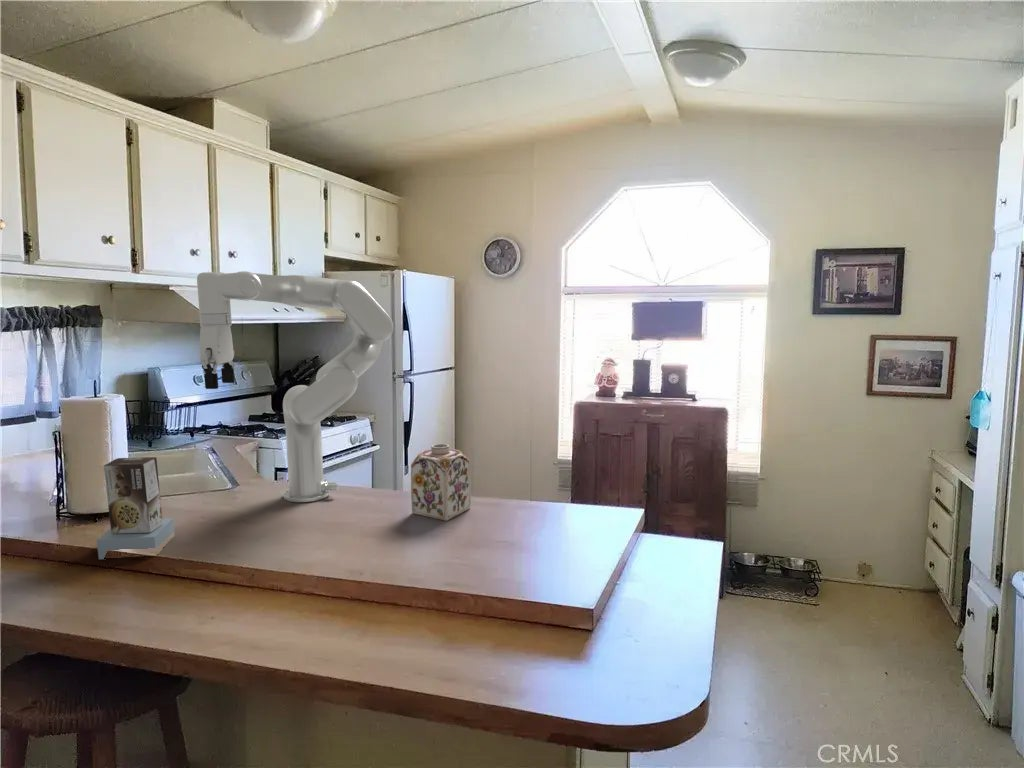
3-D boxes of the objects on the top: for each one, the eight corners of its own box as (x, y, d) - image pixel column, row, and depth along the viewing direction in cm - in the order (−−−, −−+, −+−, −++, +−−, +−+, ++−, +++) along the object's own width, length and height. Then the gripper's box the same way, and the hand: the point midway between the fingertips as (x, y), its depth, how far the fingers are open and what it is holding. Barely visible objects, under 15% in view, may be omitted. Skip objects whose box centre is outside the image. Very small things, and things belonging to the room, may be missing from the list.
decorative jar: (446, 522, 174) (445, 453, 172) (410, 514, 180) (408, 447, 177) (472, 508, 185) (471, 443, 182) (437, 501, 190) (435, 438, 188)
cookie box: (164, 523, 161) (158, 456, 159) (150, 533, 155) (144, 463, 152) (124, 524, 161) (118, 457, 158) (109, 534, 154) (102, 464, 152)
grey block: (174, 538, 165) (173, 518, 165) (156, 558, 154) (154, 536, 153) (121, 540, 164) (119, 520, 163) (98, 561, 152) (96, 539, 151)
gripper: (216, 318, 187) (221, 380, 189) (184, 322, 170) (190, 391, 172) (243, 318, 187) (247, 380, 189) (214, 322, 169) (219, 391, 172)
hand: (220, 385), depth 181 cm, fingers open, 9 cm apart
